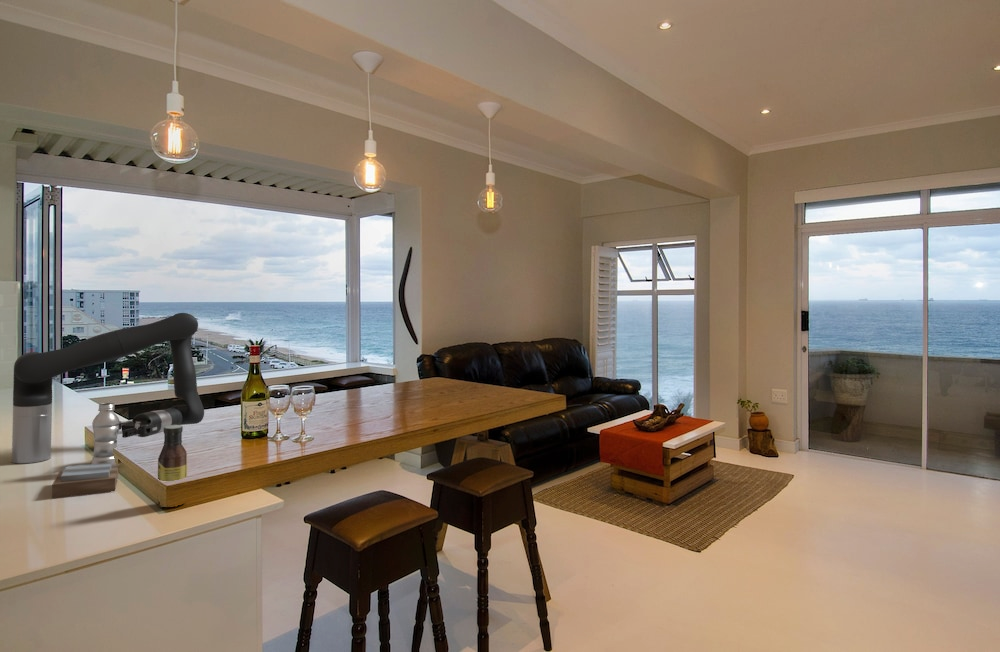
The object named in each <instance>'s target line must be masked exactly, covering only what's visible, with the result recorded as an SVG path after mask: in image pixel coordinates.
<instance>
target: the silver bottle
mask: <svg viewBox="0 0 1000 652" xmlns="http://www.w3.org/2000/svg"><path fill="white" fill-rule="evenodd" d="M115 408H116V407H115V403H114V402H104V403H100V404H98V409H97V410H98V411H99V412H98V414H96V416H95V417H94V418H93V420H92V431H93V440H94V442H93V443H94V448H93V455H92V456H93V457H92V459H91V464H100V463H111V462H112V463H111V466H116V463H115V458H114V454H113V448H116V447H117V448H118V440H117V439H118V434H117V433H118V428H119V422H120V421H121V420H120V418H119V417H118V415H117V414H116V413H115V412H114V411H115Z"/></svg>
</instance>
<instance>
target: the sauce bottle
mask: <svg viewBox="0 0 1000 652" xmlns="http://www.w3.org/2000/svg"><path fill="white" fill-rule="evenodd" d="M183 428H184V427H183V425H169V426H165V427H164V431H163V435H164V439H163V440H164V441H163V446H162V448H161V451H160V453H159V456H158V458H157V480H158V479H159V480H162V481H174V480H179V479H183V478H185V477H187V478H188V460H187V459H188V458H187V455H188V453H187V450H186V449H185V447H184V446H183V444H182V443H183V440H182V439H183V438H182V437H183V434H182V433H183V430H184V429H183ZM157 503H158V507H160V508H162V507H161V505H160V501H159V498H158V497H157Z"/></svg>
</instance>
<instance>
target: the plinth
mask: <svg viewBox="0 0 1000 652" xmlns="http://www.w3.org/2000/svg"><path fill="white" fill-rule="evenodd" d="M111 463H112V462H111ZM111 463H100V464H89V463H88V464H80V465H69V466H65V468H64V469H63V470H59V472H58V473H57V475H56V476H55V479H54V480H53V483H52V485H51V499H60V498H68V497H77V496H79V497H80V496H88V495H97V494H105V492H106V493H112V492H111V491H115V492H116V489H117V483H118V480H117V479H119V465H118V466H111ZM87 494H88V495H87Z"/></svg>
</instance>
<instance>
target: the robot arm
mask: <svg viewBox="0 0 1000 652" xmlns="http://www.w3.org/2000/svg"><path fill="white" fill-rule="evenodd" d="M198 328H199V322H198V319H197V318H196V317H195V316H194V315H192V314H190V313H188V312H178V313H175V314H173V315H171V316H169V317H167V318H164V319H161V320H158V321H155V322H151V323H147V324H142V325H135V326H131V327H130V326H129V327H125V328H119V329H116V330H112V331H108V332H104V333H101V334H98V335H94V336H91V337H88V338H86V339H84V340H82V341H79V342H77V343H75V344H72V345H70V346H66V347H64V348H59V349H55V350H49V351H44V352H38V351H31V352H27V353H23V354H22V355H21V356H20V355H19V357H18V358H16V360H15V362H14V365H13V384H12V385H13V389H12V390H13V391H12V435H11V438H12V440H11V462H12V463H14V464H30V463H38V462H44V461H47V460H49V459H51V458H52V430H53V429H52V428H53V427H52V426H53V425H52V423H53V422H52V421H53V419H52V417H53V378H54V377H57V376H60V375H63V374H65V373H68V372H71V371H74V370H77V369H80V368H85V367H90V366H91V367H92V366H95V365H100V364H104V363H107V362H108V363H109V362H111V361H114V360H118V359H121V358H125V357H128V356H131V355H133V354H137V353H139V352H141V351H144V350H146V349H149V348H151V347H153V346H156V345H158V344H163V343H168V342H169V346H170V351H171V357H172V372H173V387H174V388H173V390H174V396H175V398H177V399H182V400H184V401H185V403H186V404H178V405H174V406H171V407H169V408H165V409H158V410H151V411H147V412H142V413H138V414H136V415H135V416H134V417H133V418H132V420H126V421H121V420H119V421H120V422H119V428H118V433H117V435H122V438H125V439H126V438H130V437H134V436H135V437H138V438H146V437H149V436H153V435H157V434H161V433H164V427H165V426H169V425H182V426H183V425H195V424H196V425H197V424H200V423H201V422H202V421H203V419H204V417H205V408H204V405H203V403H202V400H201V398H200V397H201V396H200V395H199V392H198V385H197V384H198V383H197V373H196V368H195V363H194V359H193V354H192V338H193V335H195V333H196V332H197V331H198Z"/></svg>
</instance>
